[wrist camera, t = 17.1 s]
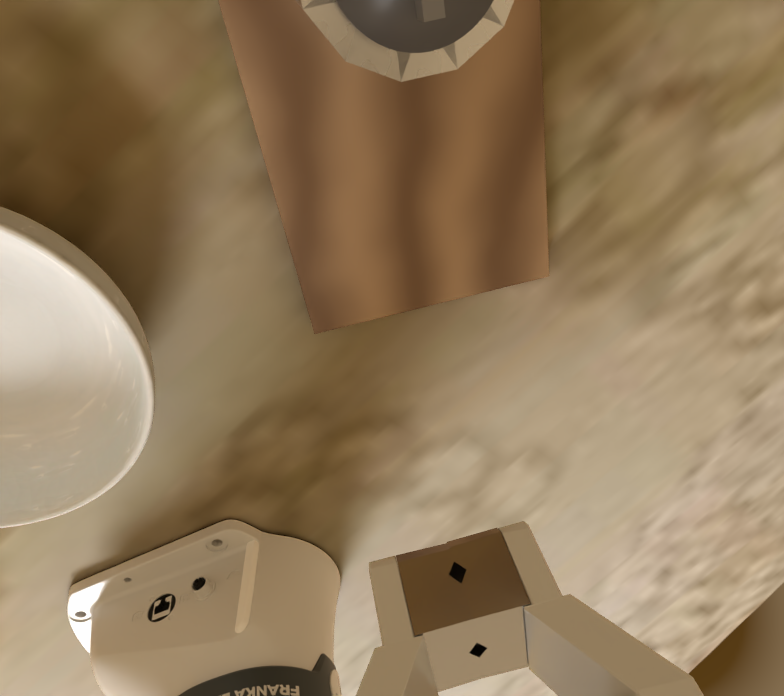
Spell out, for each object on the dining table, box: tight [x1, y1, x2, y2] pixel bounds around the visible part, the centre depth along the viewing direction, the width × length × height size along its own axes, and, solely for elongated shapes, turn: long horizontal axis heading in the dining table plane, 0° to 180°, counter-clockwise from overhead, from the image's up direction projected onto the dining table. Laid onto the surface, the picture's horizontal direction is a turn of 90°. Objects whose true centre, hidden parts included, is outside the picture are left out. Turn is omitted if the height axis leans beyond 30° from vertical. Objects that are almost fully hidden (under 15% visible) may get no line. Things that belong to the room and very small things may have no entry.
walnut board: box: [218, 0, 549, 334], centre depth 34 cm, size 16×26×2 cm, turn 10°
